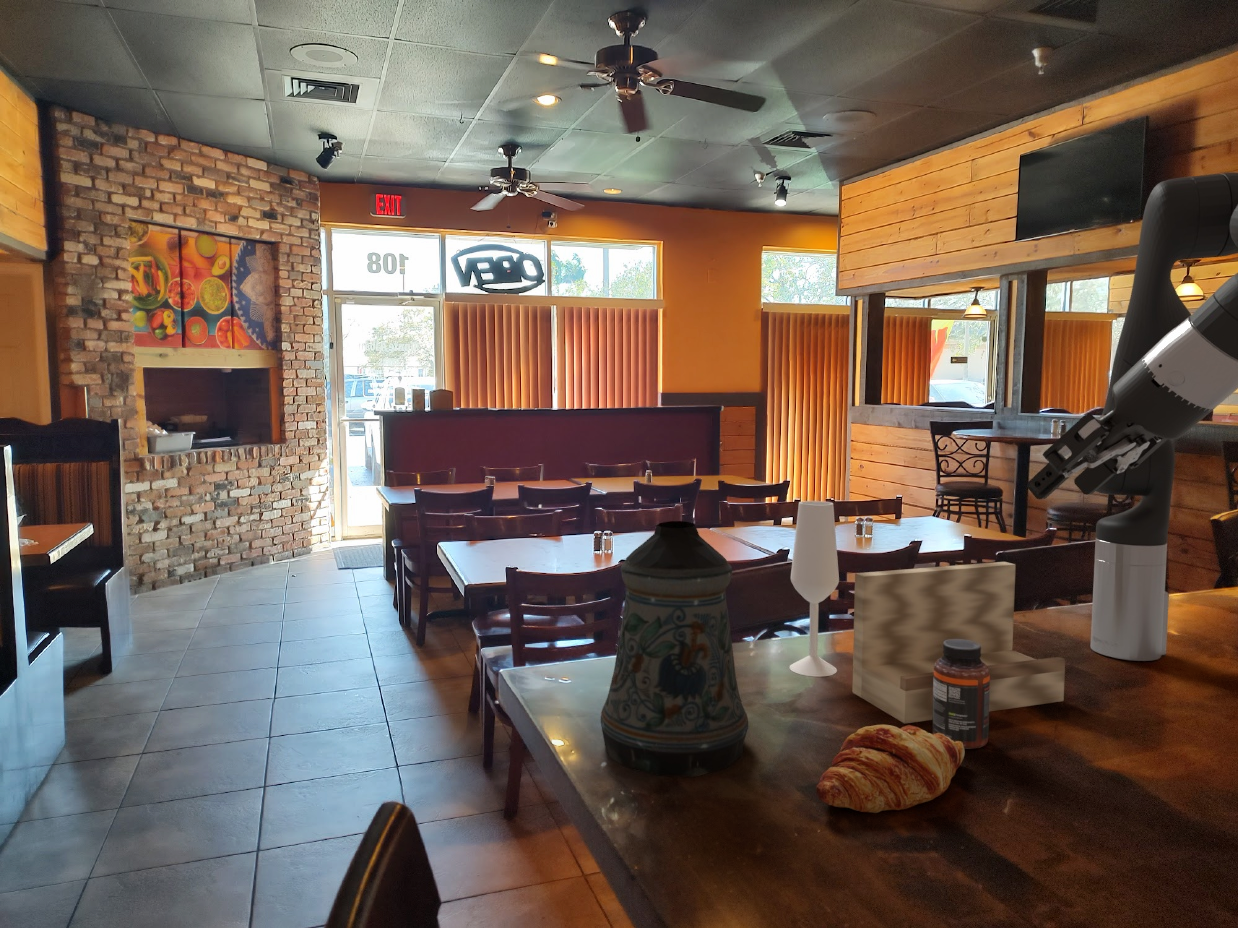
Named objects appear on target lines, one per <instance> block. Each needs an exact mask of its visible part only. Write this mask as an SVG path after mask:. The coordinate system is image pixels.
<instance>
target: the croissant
mask: <svg viewBox="0 0 1238 928" xmlns="http://www.w3.org/2000/svg"><path fill="white" fill-rule="evenodd" d="M965 750H966V749H964V747H963V743H962V742H961V741H956V742H954V741H953V740H951V739H950V738H949V737H946V736H945V735H944V734H941V733H936V734H933V733H930V732H928V731H926V730H924V729H922V728H920V727H918V726H915V725H910V724H908V725H905V726H902V727H901V728H899V727H897V726H894V725H889V724H876V725H871V726H870V725H868V726H863V727H862V728H859V729H857V731H856V732H855V733H851V734H850V735H849V736H847V738H846V739H845V740H844V741H843V744H842V745H841V748H840V749H839V753H838V754H836V756H834V757H833V760H832V762H831V767H829V768H827V770H825V771H824V772H823V773H822V774H821V776H820V778H819V781H818V784H816V786H815V793H816V795H817V797H818V799H819V800H820V801H822V802H823V803H825V804H828V805H830V806H833V807H836V808H847V809H848V808H849V809H852V810H854V811H857V812H858V811H859V812H862V813H873V814H877V813H880V812H883V811H885V812H886V811H900V810H907V809H909V808H912V807H914V806H916V805H919V804H923V803H927V802H930V801H932V800H934V799H936V798H937V797H940V796H941V795H943V794H944V793H945V792H946V790H948V788H949V786H950V784H951V780H952V778H953V777H954V776H955V775H956V771H957V770H958V768H959V767H960V766H961V764H962V762H963V760H964V757H965Z"/></svg>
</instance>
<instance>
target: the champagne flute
mask: <svg viewBox="0 0 1238 928" xmlns="http://www.w3.org/2000/svg"><path fill="white" fill-rule="evenodd" d="M797 508H798V509H797V518H796V526H795V536H794V543H793V552H792V553H793V555H792V560H791V561H792V563H791V571H790V582H791V584H792V585H793V587H794V589H795V591H797V593H798V594H799V595H801V596H802V598H803V599H804V600H805V601H807V602H808V603H809V636H808V637H809V638H808V639H809V641H808V642H809V643H808V644H809V645H808V646H809V647H808V655H807V656H805V657H803V658H801V659H800V660H797V661H795V662H794V663H791V664H790V665H789V670H791V672H793V673H796V674H798V675H801V676H805V677H828V676H833V675H835V674H836V673H837V672H838V670H837V668H836V667H835V666H834V665H832V664H831V663H829V662H827V661H825V660H824V658H821V657H820V656H819V655H818V654H819V653H818V651H819V649H818V648H819V647H818V645H819V643H818V642H819V639H818V638H819V637H818V636H819V603H821V602H823V601H825V599H827V598H828V597H830V595H831V594H832V593H833V592H834V591H835V589H837V587H838V585H839V582H840V577H839V564H838V563H839V561H838V549H837V538H836V537H837V535H836V522H835V509H834V508H835V507H834V503H833V502H831V501H821V500H804V501H803V500H802V501H799V502H798V507H797Z"/></svg>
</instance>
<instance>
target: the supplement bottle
mask: <svg viewBox="0 0 1238 928" xmlns="http://www.w3.org/2000/svg"><path fill="white" fill-rule="evenodd" d="M943 654H944V656H943V657H942V658H940V659H938V660H937V661H936V662H935V664H934V677H933V678H934V679H933V720H932V735H933V734H936V733H941V734H944V735H945V736H946V737H949V738H950V739H951V740H953V741H954V742H956V741H961V742H962V743H963V747H964V750H972V749H973V750H974V749H980V748H983V747H985V746H986V745H987V743H988V741H989V733H990V732H989V729H990V711H989V692H990V691H989V690H990V671H989V668H988V666H987V665H986V664H985V663H983V662H982V661H981V659H980V657H981V646H980V645H979V644H978V643H976V642H974V641H970V640H964V639H950V640H946V641H944V642H943Z"/></svg>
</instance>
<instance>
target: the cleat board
mask: <svg viewBox="0 0 1238 928" xmlns="http://www.w3.org/2000/svg"><path fill="white" fill-rule="evenodd" d="M1015 585H1016V563H1011V562H1007V561H997V562H995V561H994V562H986V563H984V562H983V563H973V564H972V563H971V564H959V565H946V566H933V567H920V568H919V567H918V568H908V569H906V568H905V569H895V570H883V571H869V572H868V571H867V572H855V573H854V605H853V606H854V609H853V612H854V613H853V614H854V616H853V645H852V646H853V648H852V649H853V652H852V653H853V655H852V656H853V658H852V694H853V695H856V696H858V697H859V698H861V699H863V700H864V701H866V702H868V703H870V705H872V706H874V707H876V708H877V709H880V710H881V711H883V712H884V713H886V714H887V715H889V716H892V718H895V719H896V720H898V721H900V722H901V723H902V724H911V723H918V722H926V721H933V679H934V678H933V677H934V664H935V662H936V661H937V660H938V659H940V658H942V657H943V656H944V654H943V642H944V641H946V640H950V639H964V640H970V641H974V642H976V643H978V644H979V645H980V646H981V657H980V659H981V661H982V662H983V663H985V664H986V665H987V666H988V668H989V671H990V690H989V691H990V692H989V712H995V711H996V712H997V711H1001V710H1002V711H1003V710H1009V709H1010V710H1011V709H1016V708H1017V709H1019V708H1023V707H1031V706H1037V705H1044V704H1053V703H1057V702H1058V703H1059V702H1064V698H1065V695H1064V694H1065V673H1066V672H1065V671H1066V658H1063V657H1061V656H1055V657H1047V658H1039V659H1036V658H1033V657H1031V656H1028V655H1026V654H1023V653H1021V652H1018V651H1016V650H1013V640H1014V638H1013V637H1014V616H1015V615H1014V613H1015V612H1014V611H1015V587H1016V586H1015Z"/></svg>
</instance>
